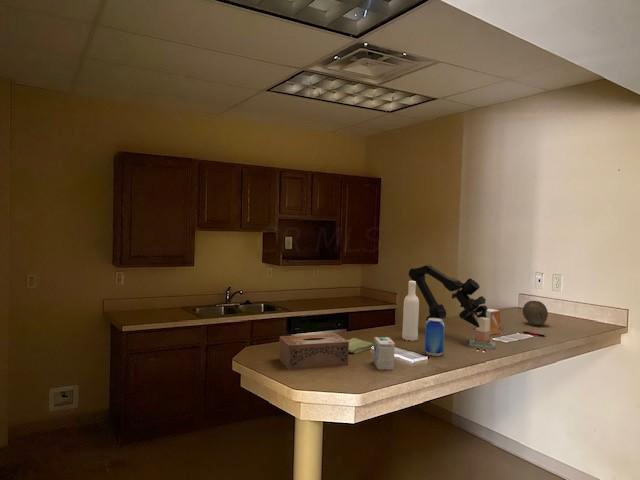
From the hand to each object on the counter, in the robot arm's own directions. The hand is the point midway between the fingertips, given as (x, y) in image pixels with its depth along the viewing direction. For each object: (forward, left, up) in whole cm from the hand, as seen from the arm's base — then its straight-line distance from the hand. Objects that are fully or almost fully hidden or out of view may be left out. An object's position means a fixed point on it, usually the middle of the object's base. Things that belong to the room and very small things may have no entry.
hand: (483, 325), depth 230 cm
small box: (+3, +29, -10) cm, 31 cm away
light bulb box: (-37, -56, -10) cm, 68 cm away
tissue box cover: (-65, -65, -10) cm, 93 cm away
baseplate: (0, 0, -10) cm, 10 cm away
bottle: (-35, -6, -10) cm, 37 cm away
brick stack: (0, 0, -9) cm, 9 cm away
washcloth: (-56, -37, -10) cm, 68 cm away
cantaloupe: (+28, +66, -10) cm, 72 cm away
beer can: (-20, -28, -10) cm, 36 cm away
